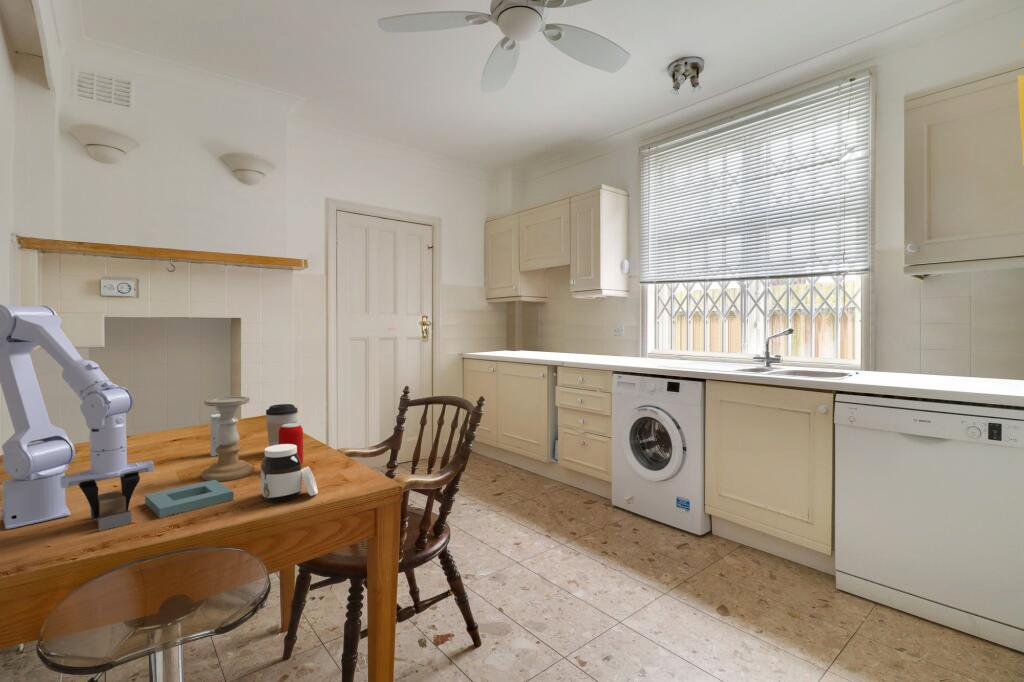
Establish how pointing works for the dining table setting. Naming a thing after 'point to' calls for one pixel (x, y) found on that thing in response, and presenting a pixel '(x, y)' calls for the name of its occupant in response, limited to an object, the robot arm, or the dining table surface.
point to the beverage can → (292, 437)
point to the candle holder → (227, 442)
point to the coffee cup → (279, 420)
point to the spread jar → (284, 474)
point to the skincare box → (214, 433)
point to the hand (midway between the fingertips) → (110, 513)
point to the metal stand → (113, 520)
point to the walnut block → (111, 503)
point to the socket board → (188, 498)
